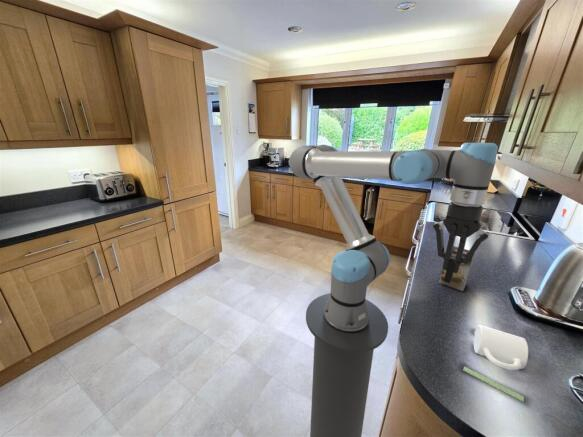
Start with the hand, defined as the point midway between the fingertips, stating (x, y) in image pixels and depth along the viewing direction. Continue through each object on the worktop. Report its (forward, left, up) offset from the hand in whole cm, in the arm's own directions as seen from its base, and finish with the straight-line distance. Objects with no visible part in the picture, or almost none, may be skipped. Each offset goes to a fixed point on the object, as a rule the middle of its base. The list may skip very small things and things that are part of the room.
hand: (447, 280), depth 72 cm
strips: (+15, 0, -19) cm, 25 cm away
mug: (+15, 0, -20) cm, 25 cm away
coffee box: (-2, +36, -20) cm, 41 cm away
